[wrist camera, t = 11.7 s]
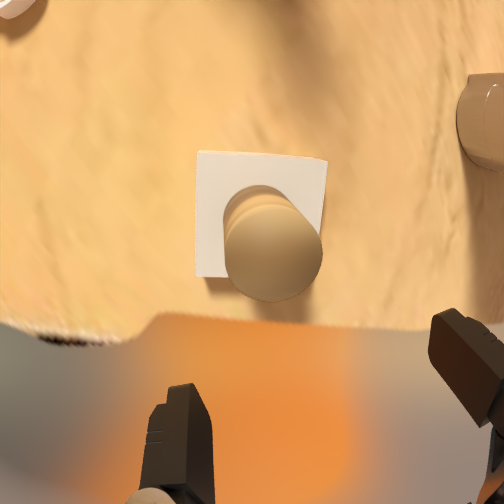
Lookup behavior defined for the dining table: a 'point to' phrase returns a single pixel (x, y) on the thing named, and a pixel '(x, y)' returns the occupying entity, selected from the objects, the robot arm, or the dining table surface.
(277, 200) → the ochre cylinder
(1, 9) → the white holed flat part
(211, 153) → the white base
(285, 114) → the dining table surface
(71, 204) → the dining table surface
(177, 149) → the dining table surface
